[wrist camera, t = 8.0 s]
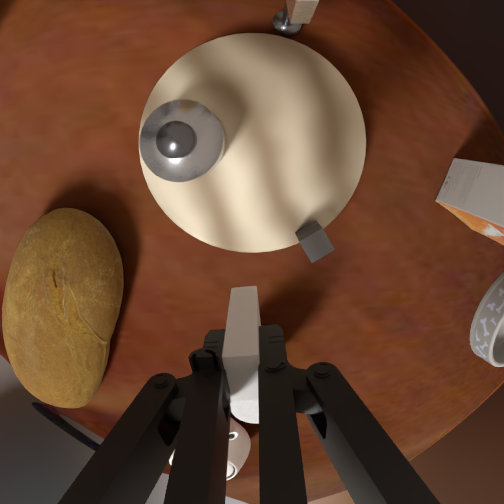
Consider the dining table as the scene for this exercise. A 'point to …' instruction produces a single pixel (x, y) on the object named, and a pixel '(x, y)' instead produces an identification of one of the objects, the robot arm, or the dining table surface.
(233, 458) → the teapot
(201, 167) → the cover
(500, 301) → the dog bowl
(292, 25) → the silver rod with block
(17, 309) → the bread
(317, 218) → the platter
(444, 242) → the dining table surface
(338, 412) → the robot arm
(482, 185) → the small box
